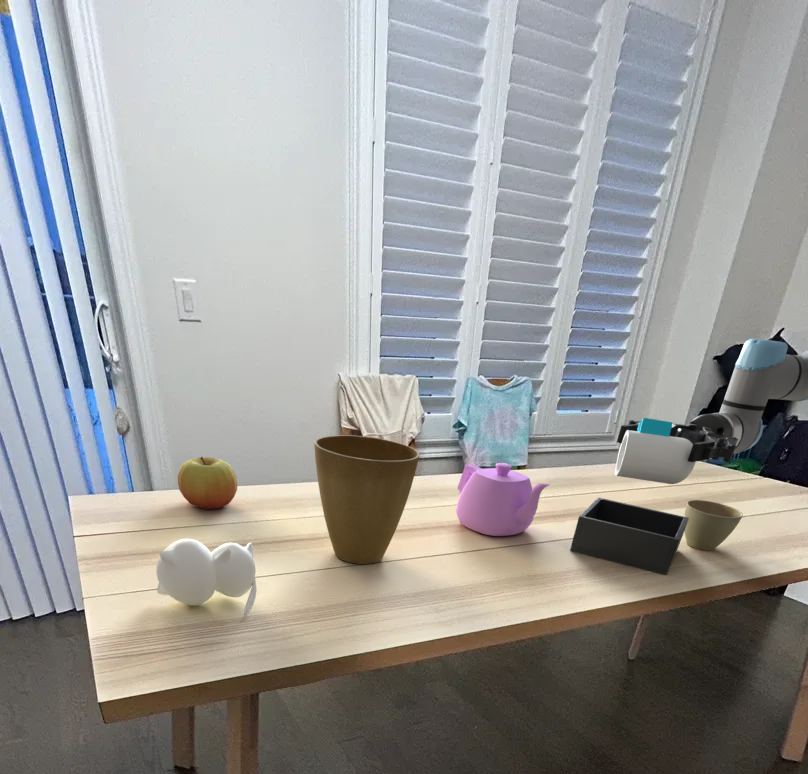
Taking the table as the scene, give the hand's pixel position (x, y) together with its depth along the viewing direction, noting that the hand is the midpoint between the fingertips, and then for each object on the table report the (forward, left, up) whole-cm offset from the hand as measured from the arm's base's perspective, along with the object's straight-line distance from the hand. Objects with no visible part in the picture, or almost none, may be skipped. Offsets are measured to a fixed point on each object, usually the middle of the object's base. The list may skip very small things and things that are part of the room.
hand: (655, 443), depth 104 cm
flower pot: (-13, -13, -18) cm, 26 cm away
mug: (-1, -3, -6) cm, 7 cm away
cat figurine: (+40, +63, -18) cm, 77 cm away
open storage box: (-1, +1, -18) cm, 18 cm away
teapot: (+22, +7, -18) cm, 30 cm away
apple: (+66, +33, -18) cm, 76 cm away
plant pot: (+34, +36, -18) cm, 53 cm away
